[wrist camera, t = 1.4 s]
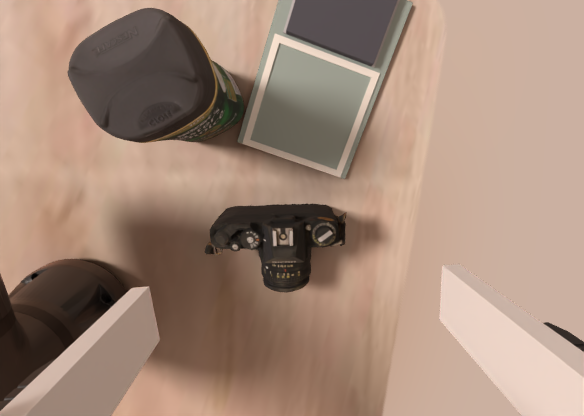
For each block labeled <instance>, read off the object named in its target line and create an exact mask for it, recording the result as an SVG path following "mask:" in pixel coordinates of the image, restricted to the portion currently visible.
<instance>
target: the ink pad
mask: <svg viewBox="0 0 584 416" xmlns="http://www.w3.org/2000/svg"><path fill="white" fill-rule="evenodd" d="M399 1H400V0H293V1H292V4H291V8H290V11H289V14H288V17H287V21H286V24H285V27H284V31H283V33H284V34H287V35H289V36H292V37H295V38H297V39H300V40H303V41H305V42H308V43H310V44H313V45H316V46H318V47H321V48H324V49H326V50H329V51H331V52H334V53H337V54H339V55H342V56H345V57H347V58H350V59H352V60H355V61H358V62H360V63H363V64H366V65H368V66H371V67H373V68H374V67H375V65H376V62H377V60H378V57H379V54H380V52H381V49H382V46H383V44H384V41H385V38H386V36H387V33H388V30H389V28H390V25H391V22H392V20H393V17H394V14H395V12H396V9H397V6H398V4H399Z"/></svg>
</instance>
